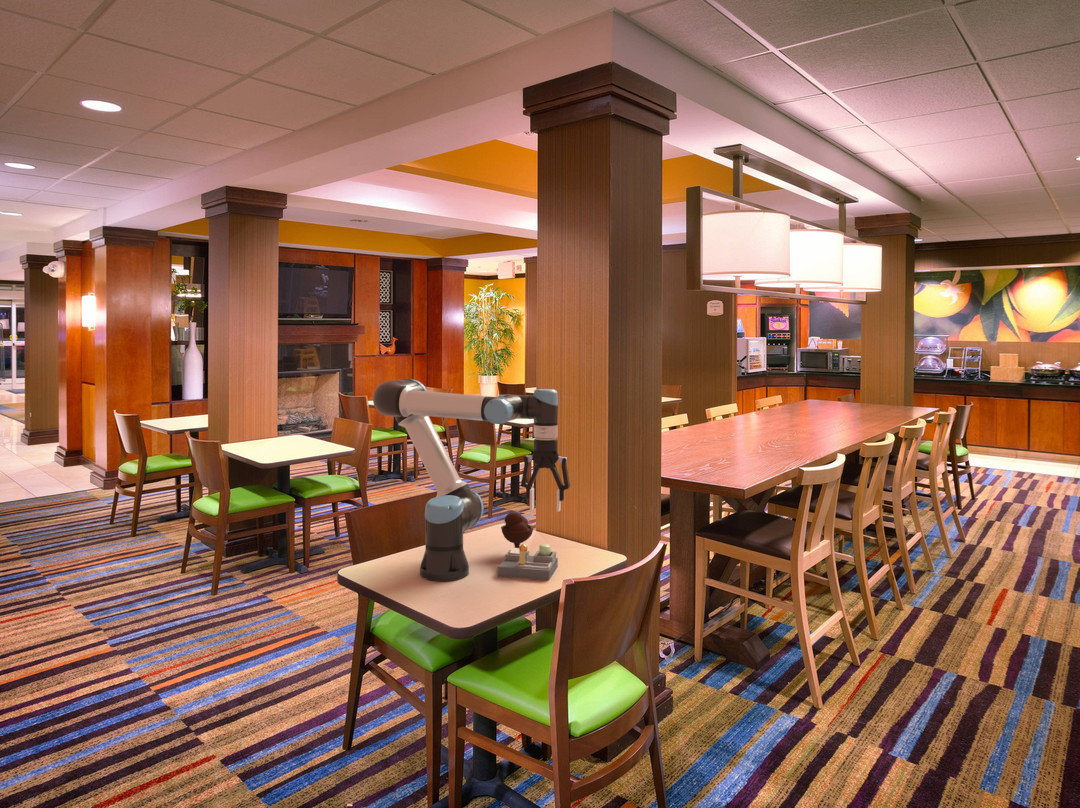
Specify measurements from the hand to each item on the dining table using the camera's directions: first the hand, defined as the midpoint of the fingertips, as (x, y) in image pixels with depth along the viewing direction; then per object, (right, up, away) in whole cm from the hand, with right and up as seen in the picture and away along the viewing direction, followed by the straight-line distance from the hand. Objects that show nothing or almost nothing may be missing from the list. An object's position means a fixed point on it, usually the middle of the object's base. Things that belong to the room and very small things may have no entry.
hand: (545, 509), depth 218 cm
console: (-5, -19, -1) cm, 20 cm away
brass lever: (-7, -16, -4) cm, 18 cm away
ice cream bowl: (-9, -18, +17) cm, 26 cm away
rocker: (-9, -15, +3) cm, 17 cm away
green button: (0, -15, +1) cm, 15 cm away
